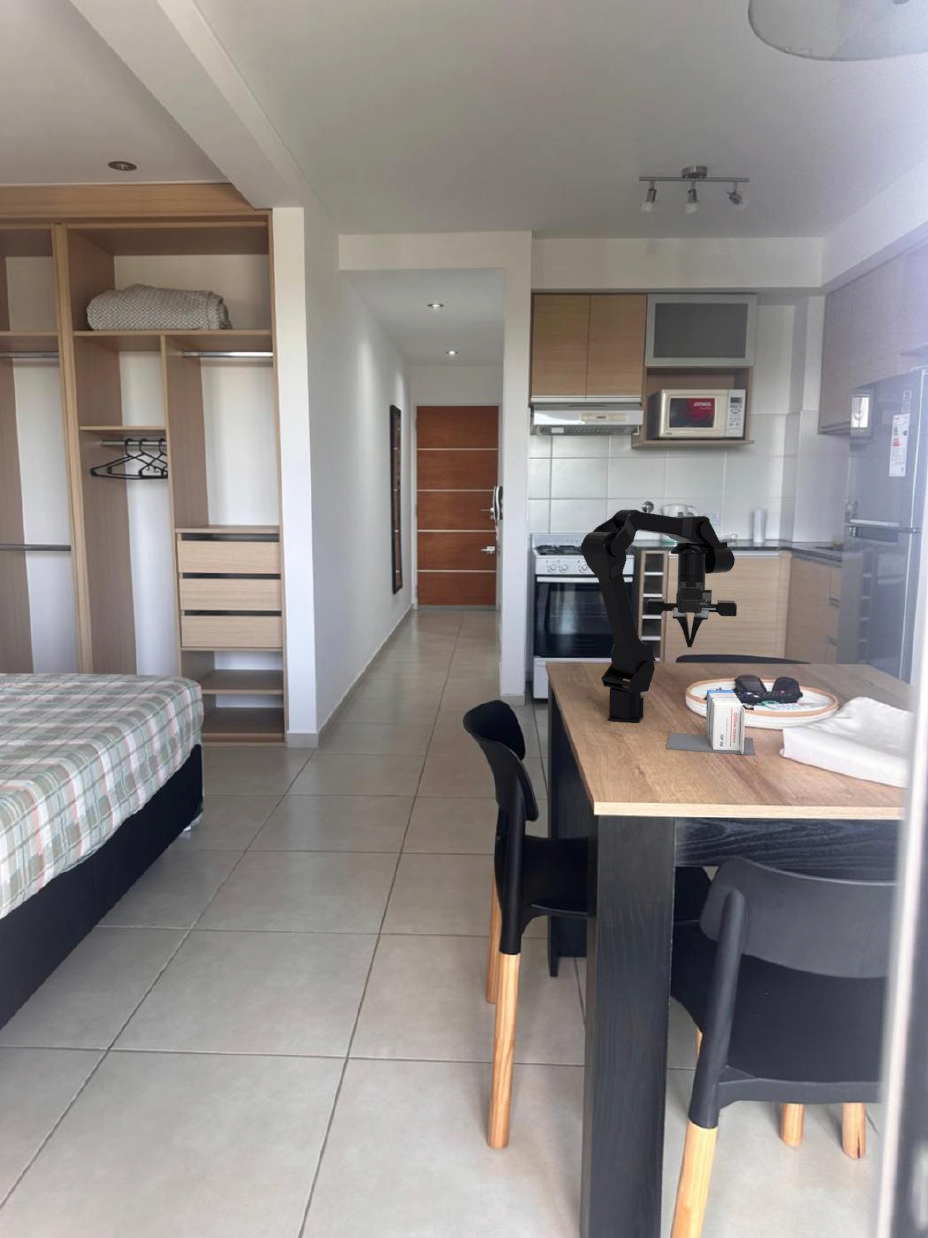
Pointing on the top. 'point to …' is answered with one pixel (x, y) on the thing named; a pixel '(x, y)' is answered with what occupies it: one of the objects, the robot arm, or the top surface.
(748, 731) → the top surface
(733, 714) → the ink box
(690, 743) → the mat
